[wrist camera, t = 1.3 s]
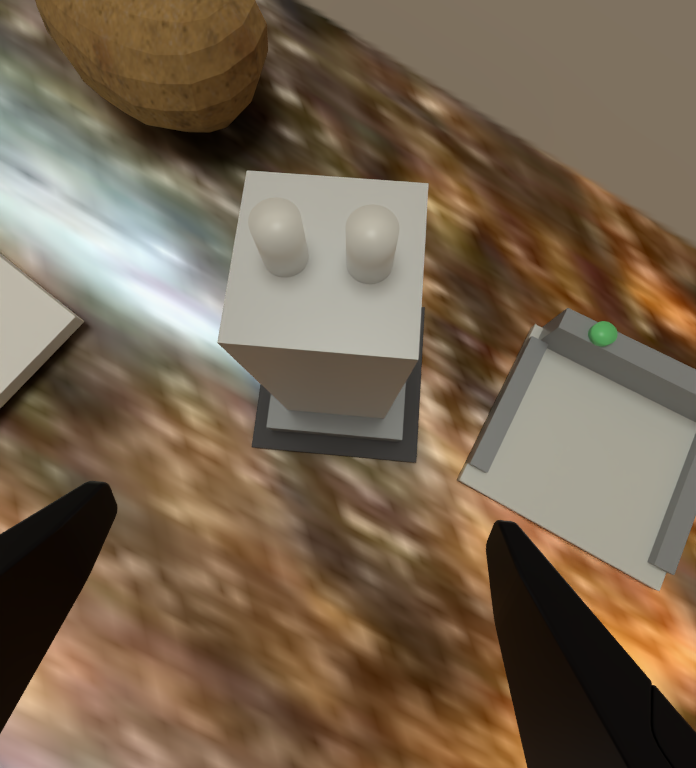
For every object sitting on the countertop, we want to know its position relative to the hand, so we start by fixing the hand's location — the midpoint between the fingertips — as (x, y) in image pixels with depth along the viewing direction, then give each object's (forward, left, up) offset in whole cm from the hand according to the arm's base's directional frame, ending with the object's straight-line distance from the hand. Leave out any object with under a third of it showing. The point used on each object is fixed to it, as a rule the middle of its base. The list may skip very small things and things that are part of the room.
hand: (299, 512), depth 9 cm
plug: (+5, +4, -12) cm, 14 cm away
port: (+11, -9, -12) cm, 19 cm away
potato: (+13, +25, -13) cm, 31 cm away
